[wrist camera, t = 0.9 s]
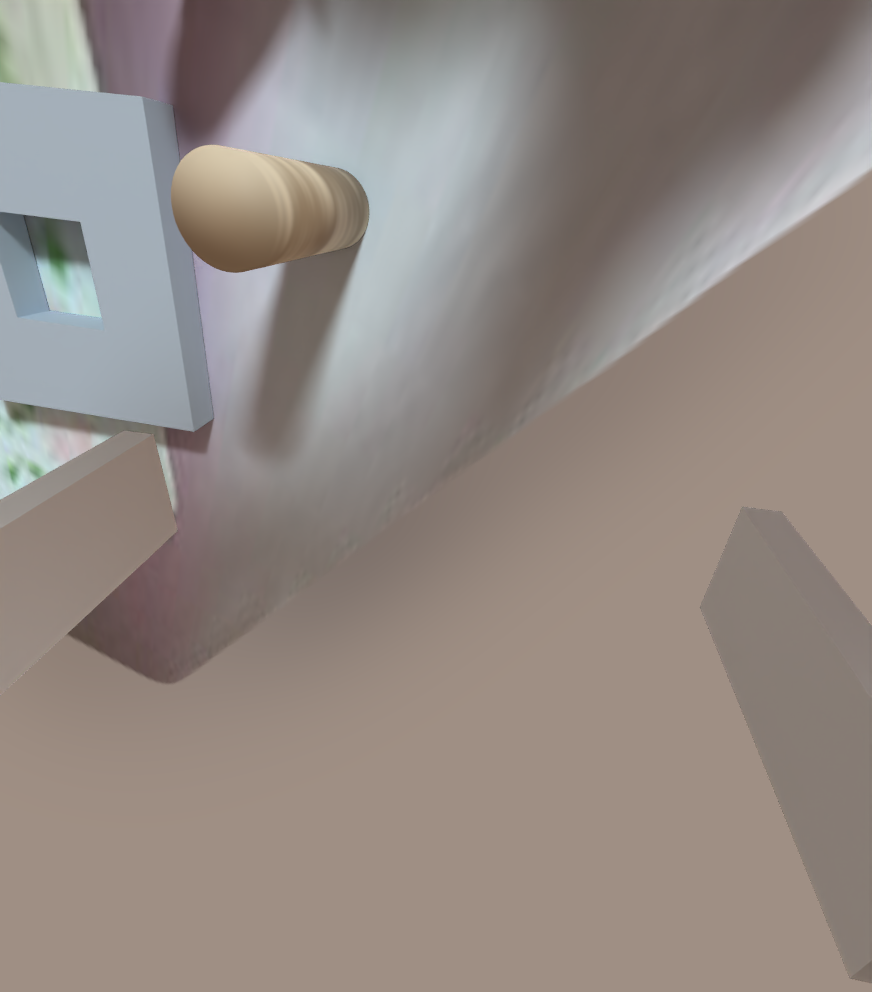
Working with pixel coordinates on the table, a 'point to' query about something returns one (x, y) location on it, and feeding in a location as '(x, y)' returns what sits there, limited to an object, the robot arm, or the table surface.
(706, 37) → the table surface
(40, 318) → the socket board
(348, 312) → the table surface
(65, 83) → the table surface
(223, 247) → the peg
